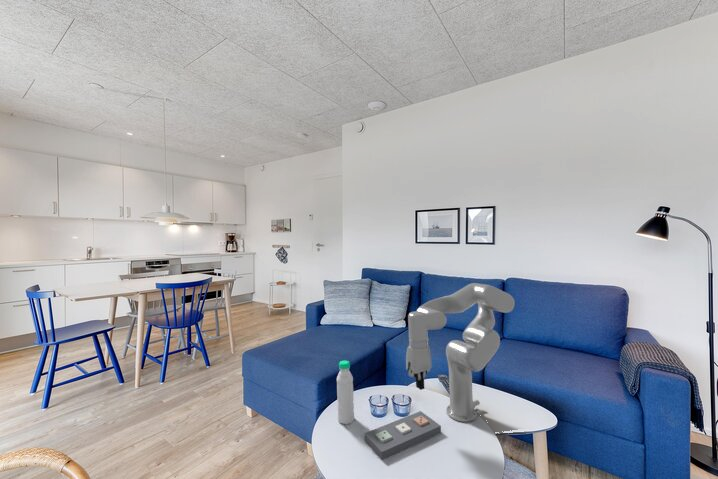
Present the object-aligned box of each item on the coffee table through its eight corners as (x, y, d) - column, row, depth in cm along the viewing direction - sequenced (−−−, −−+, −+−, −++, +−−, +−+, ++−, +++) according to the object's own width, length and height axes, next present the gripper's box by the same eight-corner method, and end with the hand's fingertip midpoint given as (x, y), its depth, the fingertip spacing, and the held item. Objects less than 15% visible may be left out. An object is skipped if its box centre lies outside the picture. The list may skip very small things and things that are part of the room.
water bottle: (339, 426, 125) (337, 366, 125) (336, 416, 132) (334, 359, 132) (355, 423, 127) (354, 364, 127) (352, 413, 134) (350, 358, 134)
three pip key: (421, 424, 125) (421, 415, 125) (429, 429, 121) (428, 420, 121) (413, 427, 122) (413, 418, 122) (420, 433, 119) (420, 424, 119)
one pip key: (404, 431, 120) (404, 422, 120) (411, 437, 116) (411, 428, 116) (395, 435, 118) (395, 426, 118) (402, 441, 114) (401, 432, 114)
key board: (420, 417, 129) (420, 411, 129) (441, 433, 119) (440, 425, 119) (364, 441, 116) (364, 433, 116) (381, 460, 105) (381, 452, 105)
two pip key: (385, 439, 116) (385, 430, 116) (392, 445, 112) (392, 436, 112) (376, 443, 114) (375, 433, 114) (382, 450, 110) (382, 440, 110)
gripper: (426, 336, 128) (427, 379, 129) (397, 344, 121) (399, 389, 121) (438, 341, 122) (440, 386, 122) (409, 349, 115) (411, 397, 115)
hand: (420, 387), depth 122 cm, fingers closed
